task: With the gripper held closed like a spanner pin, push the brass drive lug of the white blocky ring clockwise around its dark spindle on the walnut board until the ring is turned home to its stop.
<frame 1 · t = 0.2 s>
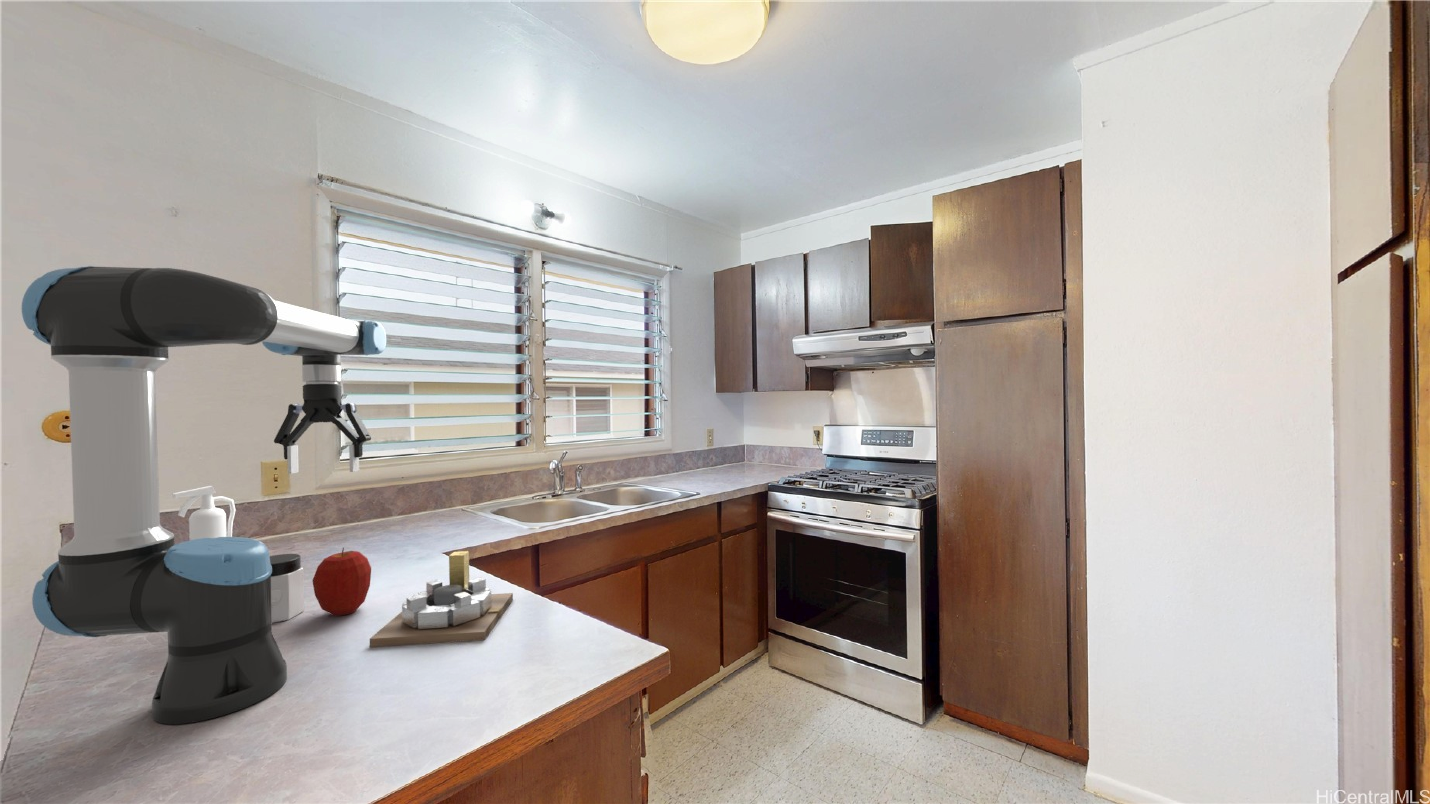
hand: (324, 472, 129), 28 cm above the countertop, fingers open, 13 cm apart
jar: (277, 617, 113), on the countertop
apple: (343, 613, 114), on the countertop
white blocky ring: (448, 587, 109), point 7 cm above the countertop, hinge at 0.0°
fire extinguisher: (213, 590, 129), on the countertop
board: (448, 621, 109), on the countertop
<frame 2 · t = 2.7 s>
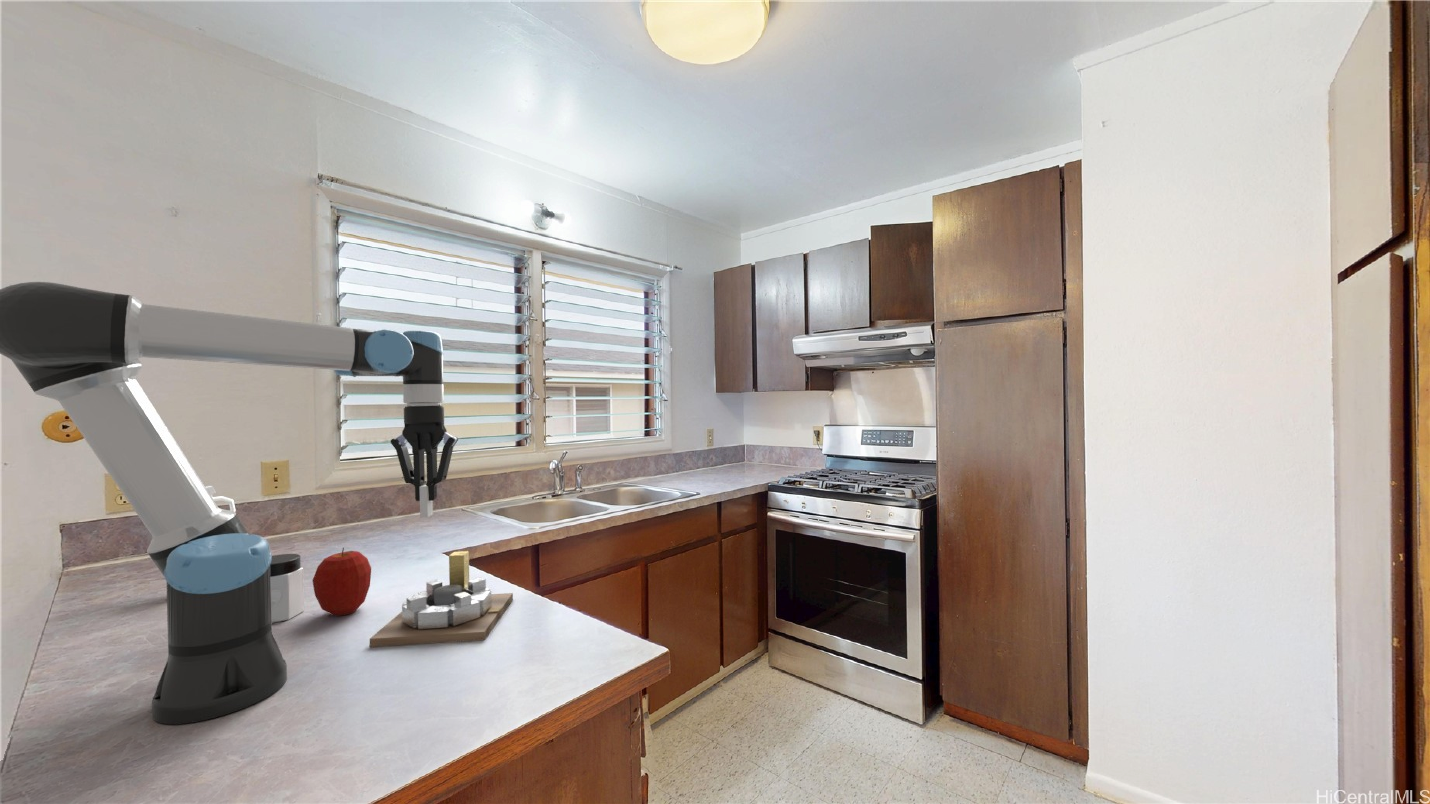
hand: (426, 515, 114), 20 cm above the countertop, fingers closed
nothing on the countertop moved.
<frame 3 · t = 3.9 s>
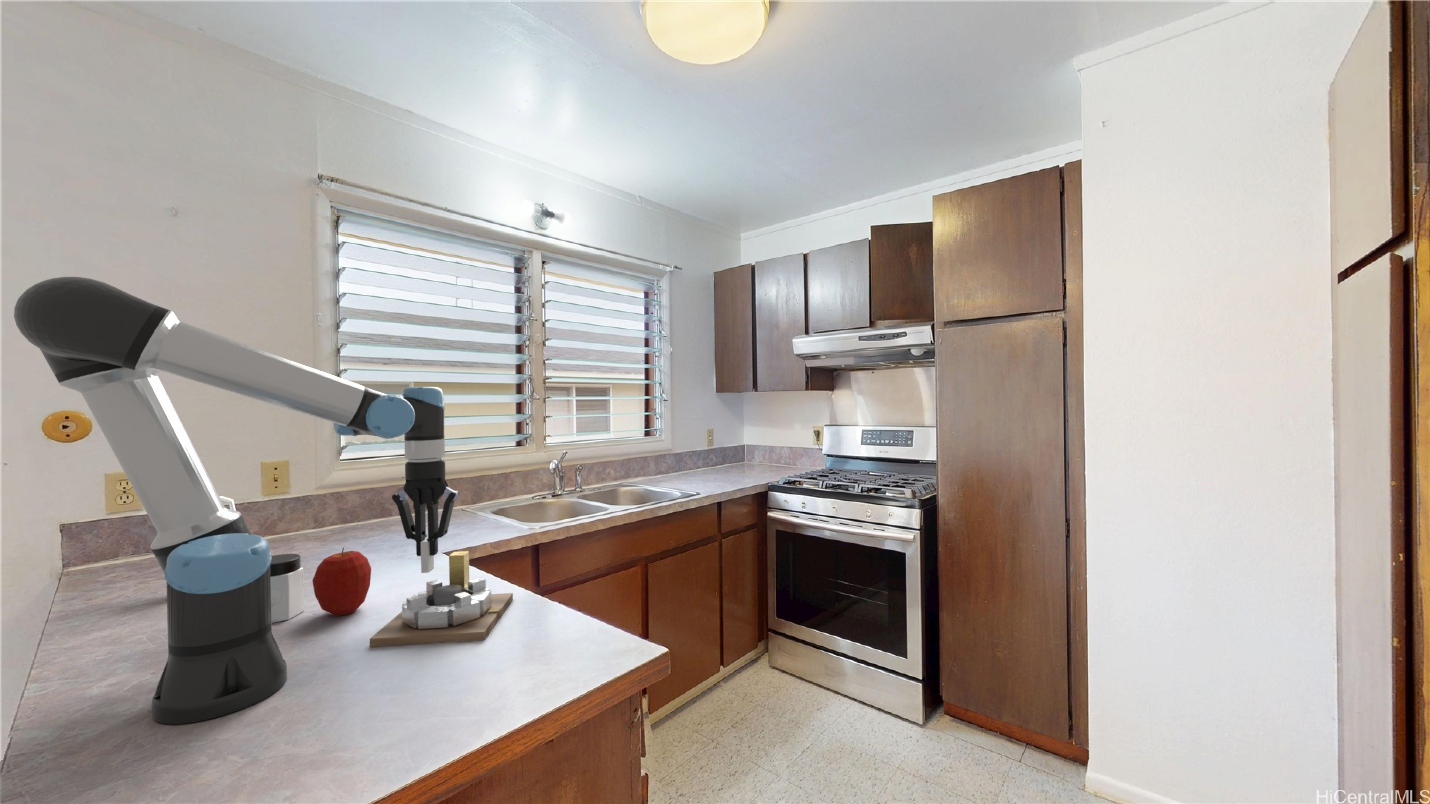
hand: (427, 570, 114), 8 cm above the countertop, fingers closed
nothing on the countertop moved.
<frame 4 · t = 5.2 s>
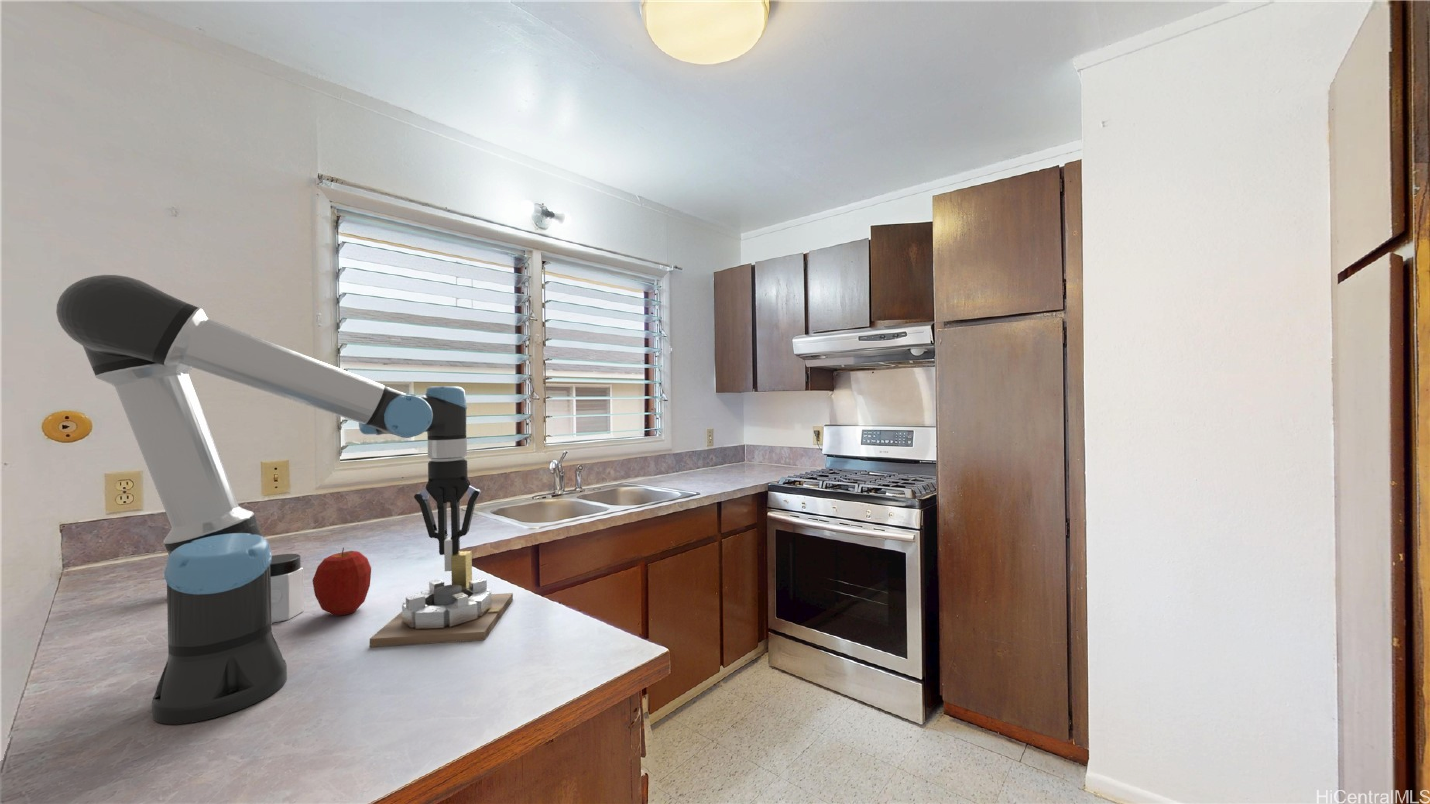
hand: (449, 569, 115), 8 cm above the countertop, fingers closed
white blocky ring: (448, 587, 109), point 7 cm above the countertop, hinge at 4.5°, touching gripper
everything else where it was.
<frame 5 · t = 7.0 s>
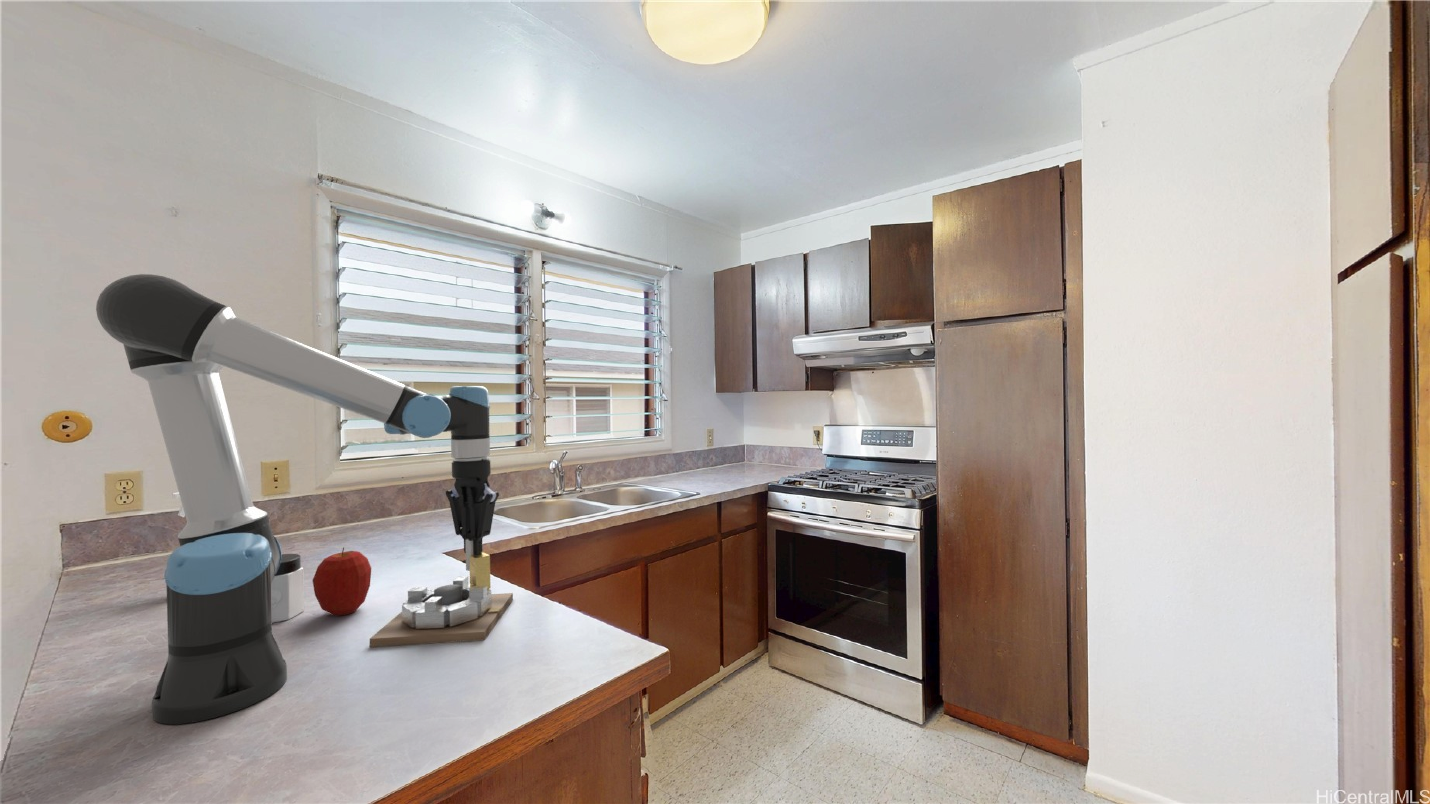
hand: (473, 568, 115), 8 cm above the countertop, fingers closed
white blocky ring: (448, 587, 109), point 7 cm above the countertop, hinge at 49.2°, touching gripper
everything else where it was.
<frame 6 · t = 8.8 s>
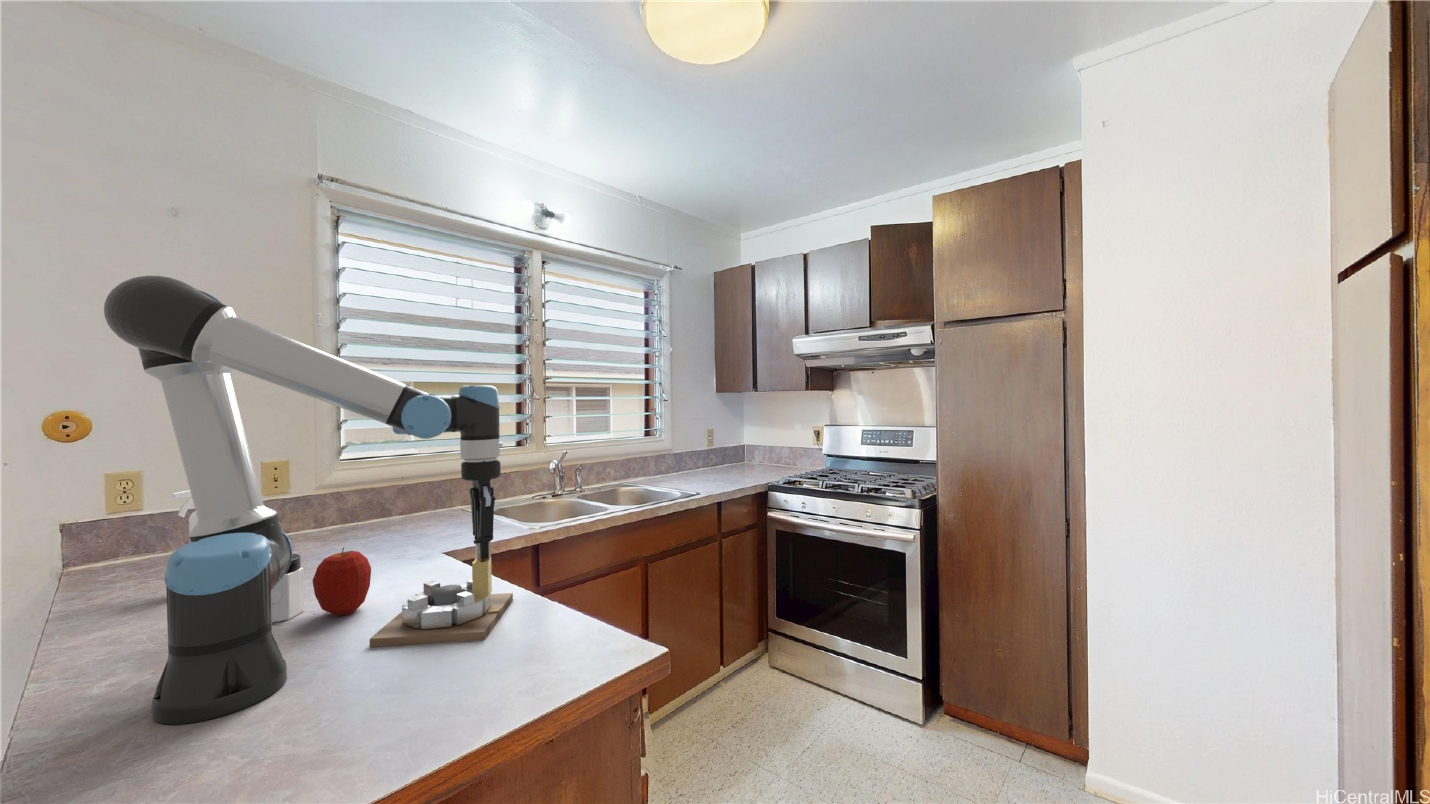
hand: (483, 572, 113), 8 cm above the countertop, fingers closed
white blocky ring: (448, 587, 109), point 7 cm above the countertop, hinge at 85.2°, touching gripper
everything else where it was.
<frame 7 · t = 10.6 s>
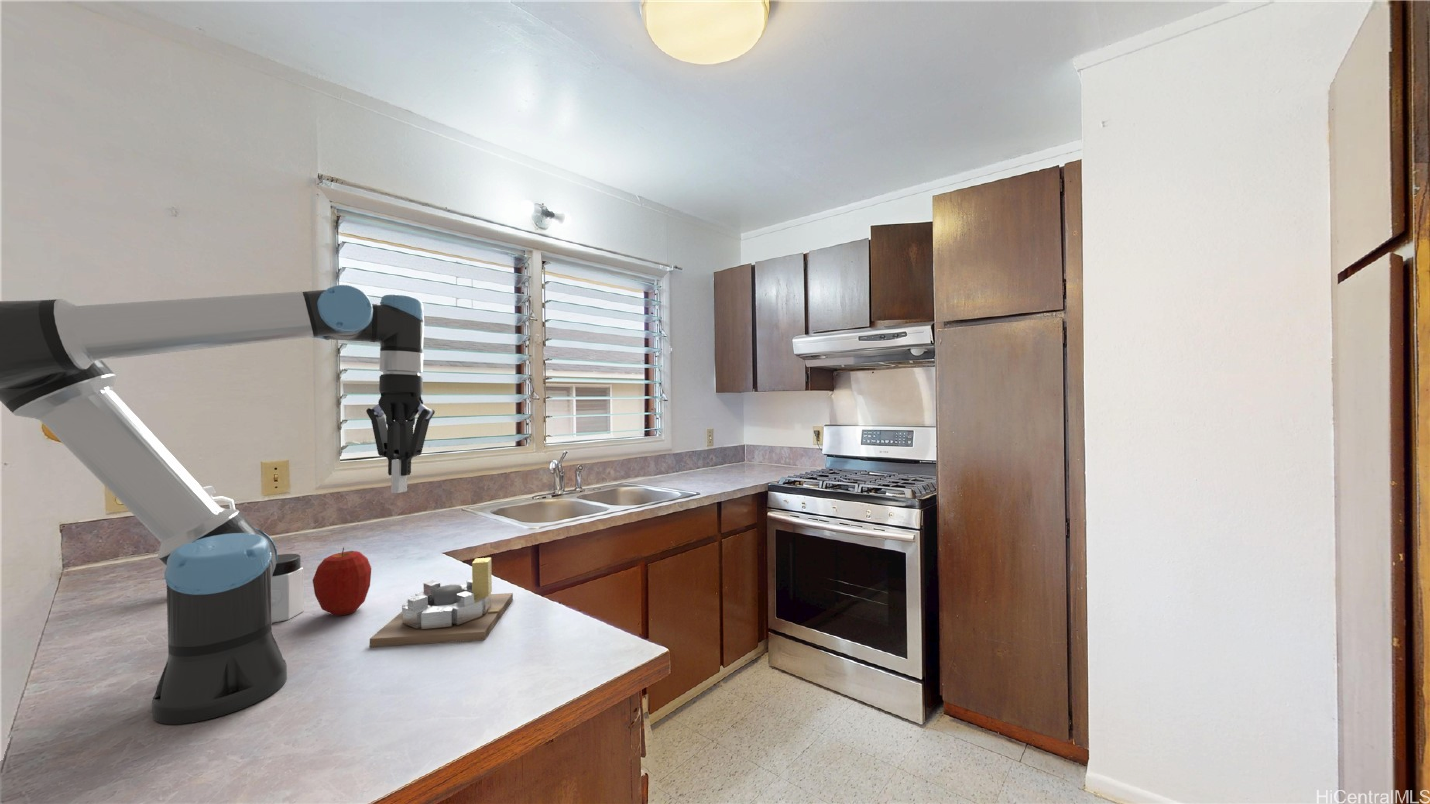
hand: (399, 491, 108), 26 cm above the countertop, fingers closed
white blocky ring: (448, 587, 109), point 7 cm above the countertop, hinge at 85.2°
everything else where it was.
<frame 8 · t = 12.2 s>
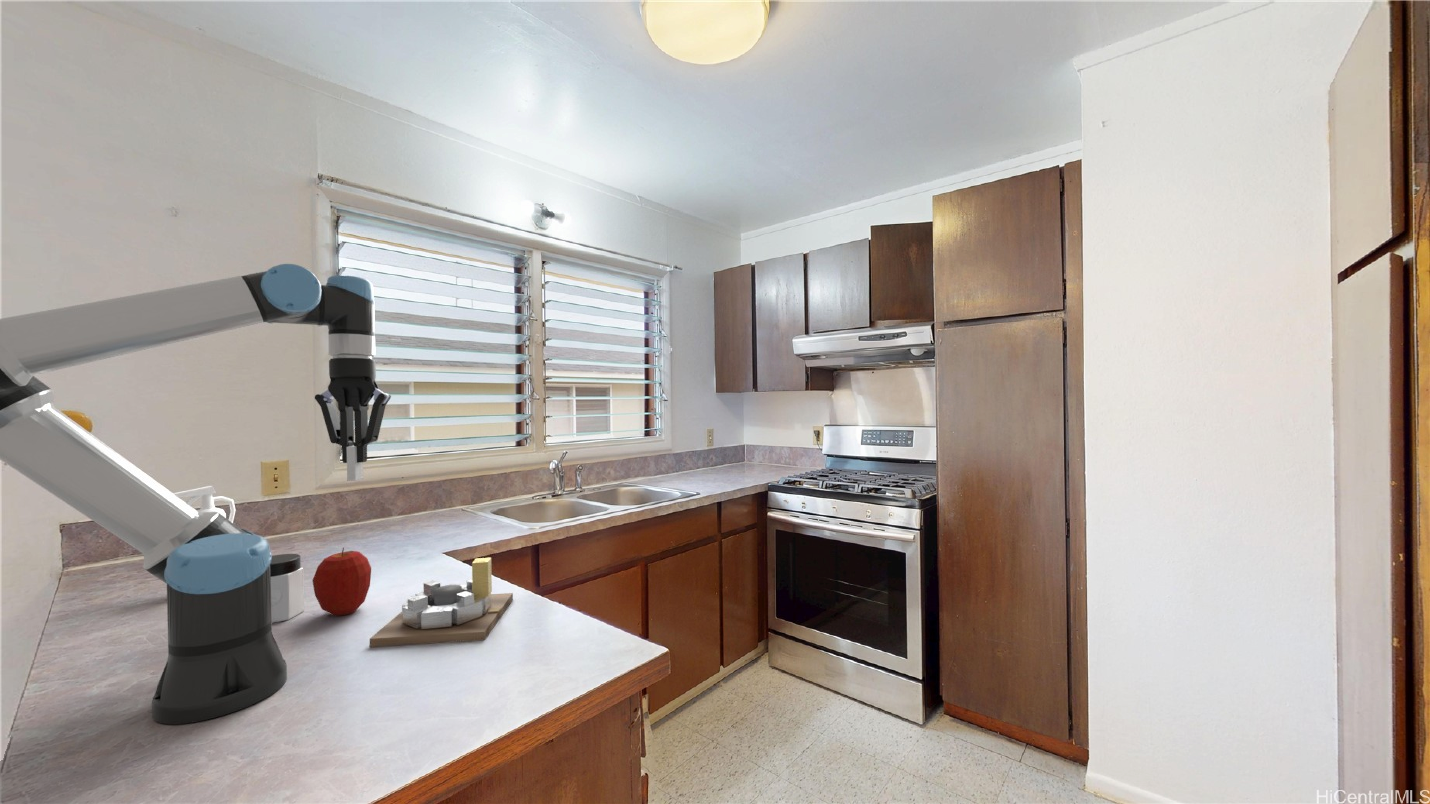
hand: (355, 479, 105), 29 cm above the countertop, fingers closed
nothing on the countertop moved.
at the end: white blocky ring at +85° (first picture: +0°); white blocky ring touching nothing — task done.
